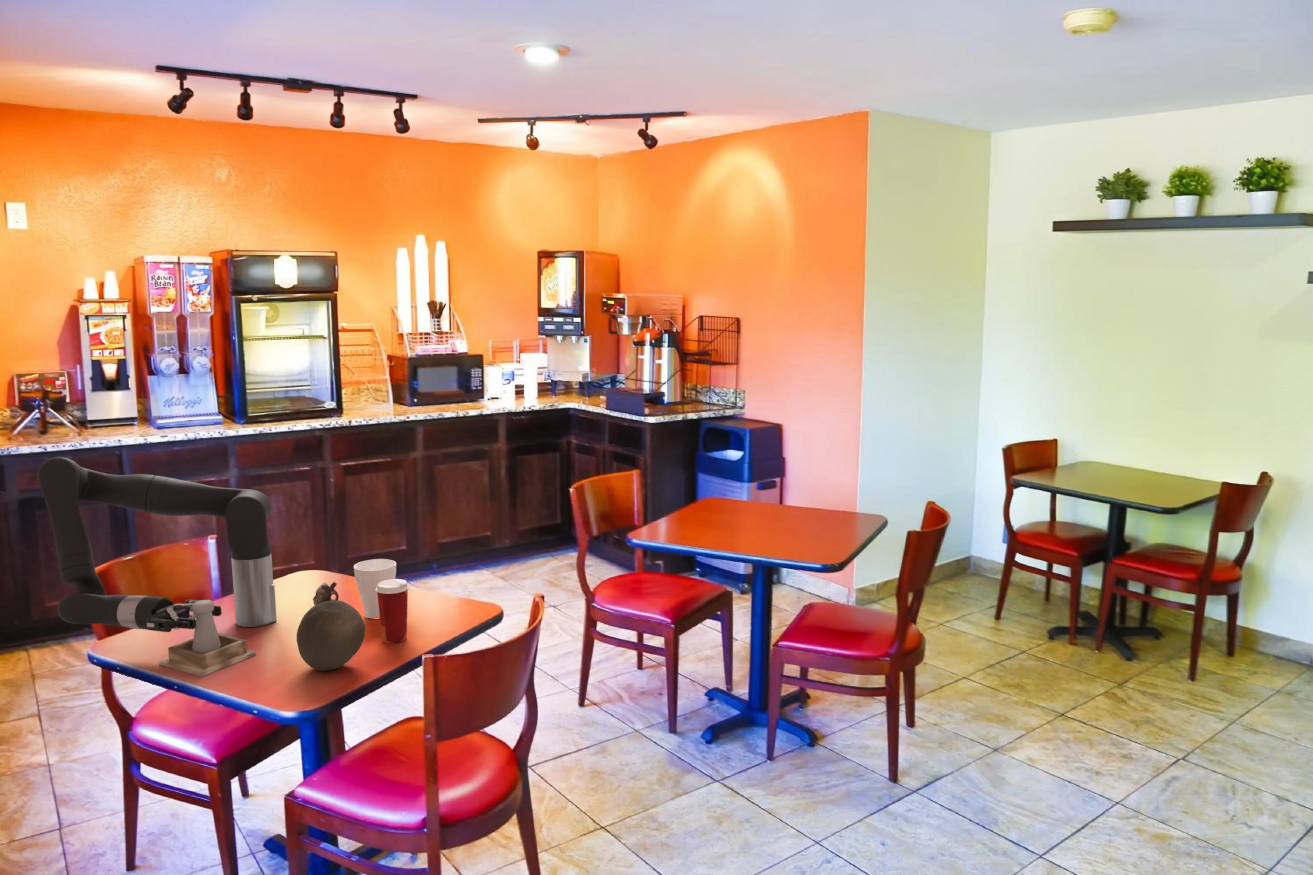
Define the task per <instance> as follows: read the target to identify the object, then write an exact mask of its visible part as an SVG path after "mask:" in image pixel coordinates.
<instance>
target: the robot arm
mask: <svg viewBox="0 0 1313 875" xmlns="http://www.w3.org/2000/svg"><path fill="white" fill-rule="evenodd" d="M36 478H37V482H38V485H39V488H40V491H41V493H42V496H43V499H44V501H45V505H46V508H47V511H48V515H49V518H50V522H51V527H52V530H53V531H52V532H53V537H54V542H55V550H56V555H57V556H56V558H57V561H58V563H57V564H58V569H59V575H60V579H61V581H62V583H64V584H65V585H68V586H71V587H73V589H74V591H75V592H72V593H69V594H66V595H65V596H64V597H62V598H61V599H60V600H59V602H58V605H57V614H58V616H59V618H60V619H61V620H62V621H64V622H66V623H68V624H73V625H106V626H107V625H108V626H113V627H124V628H125V627H126V628H130V629H135V630H147V631H152V632H153V631H154V632H163V633H170V632H172V629H173V630H177V631H178V630H180V629H187V630H195V628H196V616H197V614H196V613H194V612H193V604H194V603H195V602H197V601H200V599H186V600H185V603H173V602H172V600H171V599H170V598H168V597H166V596H157V595H156V596H154V595H140V594H139V595H126V594H124V595H123V594H109V595H108V594H107V592H106V591H105V588H104V586H103V584H102V581H101V578H99V576H98V574H97V572H96V566H95V560H94V554H93V548H92V544H91V540H90V538H89V537H90V536H89V535H88V531H87V530H86V527H85V523H84V520H83V518H82V514H81V509H80V503H81V502H82V503H96V504H97V503H98V504H104V505H105V504H106V505H111V506H114V507H118V508H123V509H126V510H127V509H128V510H133V511H137V512H142V513H148V514H153V515H154V514H155V515H159V516H160V515H161V516H172V517H180V516H182V517H186V516H203V515H204V516H214V517H220V518H225V528H226V540H227V545H228V548H229V550H230V558H231V570H232V571H231V572H232V573H231V574H232V584H233V585H232V586H233V587H232V588H233V598H234V614H235V615H234V617H235V625H237V626H239V627H243V628H253V627H254V628H255V627H262V626H265V625H269V624H272V623H274V622H275V623H276V622H278V620H277V618H278V617H277V605H276V602H277V601H276V590H275V589H276V586H275V584H274V576H273V575H274V573H273V560H272V545H271V543H270V541H269V539H268V538H269V537H268V530H267V529H268V528H267V519H268V517H270V514H271V512H272V502H271V500H270V499H269V498H268V496H267V495H266V494H265V493H263V492H261V491H259V490H256V489H251V488H250V489H247V488H233V487H232V488H231V487H220V486H212V485H207V484H203V483H198V482H193V481H188V480H183V479H178V478H174V477H168V476H161V475H155V474H146V473H144V474H142V473H141V474H140V473H139V474H138V473H136V474H110V473H105V472H101V471H96V470H93V469H89V468H86V467H83V466H81V465H79V463H77V462H75V461H74V460H72V459H70V458H67V457H64V456H62V457H61V456H55V457H52V458H49V459H47V460H46V461H44V462H43V463H41V465H40V467H39V468H38V472H37V477H36ZM190 613H192V614H190ZM222 614H223V613H222V607H221V606H220V605H214V610H213V611H212V615H213V617H220V616H222Z"/></svg>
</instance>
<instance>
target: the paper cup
mask: <svg viewBox="0 0 1313 875" xmlns="http://www.w3.org/2000/svg"><path fill="white" fill-rule="evenodd" d="M409 589H410V586H409V584H408V582H407V580H405V579H400V578H395V579H390V580H384V581H381V582H379V583H378V585H377V588H376V592H377V595H378V605H379V614H380V619H379V623H380V631H381V638H382V642H383V643H385V644H389V643H394V644H400V643H403V642H405V641H406V640H407V635H408V602H409V601H408V600H409V599H408V595H409V594H408V593H409V592H408V590H409Z"/></svg>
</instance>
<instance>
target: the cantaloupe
mask: <svg viewBox="0 0 1313 875" xmlns="http://www.w3.org/2000/svg"><path fill="white" fill-rule="evenodd" d="M296 630H297V631H296V643H297V647H298V652H299V656H300V657H301V659H302V660H303V661H304V663H305V664H307V666H309V667H310V668H312V669H314V670H317V671H320V672H321V671H323V672H324V671H325V672H326V671H332V670H336V669H338V668H340V667H342V666H344V665H345V664H347V663H348V662H349V661H350V660H351V659H352V658H353V657H354V656H355V655H356V654H357V653H358V652H359V650H360V649H361V647H362V645H363V643H364V639H365V636H366V624H365V621H364V619H363V617H362V615H361V613H360V612H359V611H358V610H357V609H356V608H355V607H354V606H352V605H350V604H349V603H347V602H346V601H342V600H338V601H337V600H332V601H326V602H322V603H319V604H317V605H314V606H312V607H311V608H310V609H309V610H308V611H307V612H306V613H305V614H304V615H303V616H302V619H301V620H300V622H299V624H298V627H297V629H296Z"/></svg>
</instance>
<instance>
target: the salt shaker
mask: <svg viewBox="0 0 1313 875" xmlns="http://www.w3.org/2000/svg"><path fill="white" fill-rule="evenodd" d="M199 600H200V599H199ZM214 606H215V604H214V602H213V601H212V600H210V599H201V600H200V601H197V602H195V603H194V604H193V612H194V613H196V614H197V616H196V618H195V620H196V628H194V632H193V638H192V639H193V645H192V650H193V652H195V653H199V654H202V655H203V654H206V653H208V652H211V651H214V650H216V649H219V648H220V646H221V644H220V640H219V636H218V633H219V632H218V631H217V625H216V622H215V619H214V616H213V615H212V611H213V610H214ZM193 612H192V613H193Z"/></svg>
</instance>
